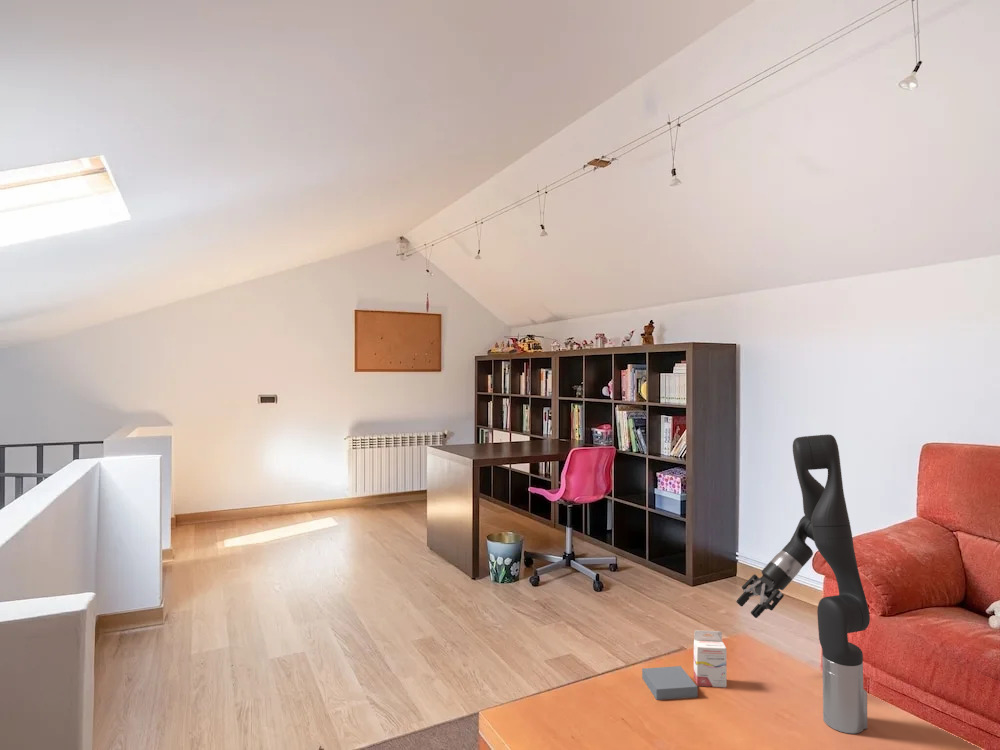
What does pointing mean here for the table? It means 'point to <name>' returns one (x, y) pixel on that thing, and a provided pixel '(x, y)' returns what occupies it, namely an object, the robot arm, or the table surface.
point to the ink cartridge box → (709, 659)
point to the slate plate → (669, 683)
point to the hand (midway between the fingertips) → (745, 609)
